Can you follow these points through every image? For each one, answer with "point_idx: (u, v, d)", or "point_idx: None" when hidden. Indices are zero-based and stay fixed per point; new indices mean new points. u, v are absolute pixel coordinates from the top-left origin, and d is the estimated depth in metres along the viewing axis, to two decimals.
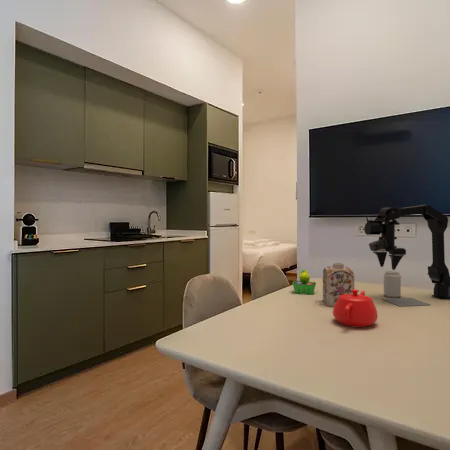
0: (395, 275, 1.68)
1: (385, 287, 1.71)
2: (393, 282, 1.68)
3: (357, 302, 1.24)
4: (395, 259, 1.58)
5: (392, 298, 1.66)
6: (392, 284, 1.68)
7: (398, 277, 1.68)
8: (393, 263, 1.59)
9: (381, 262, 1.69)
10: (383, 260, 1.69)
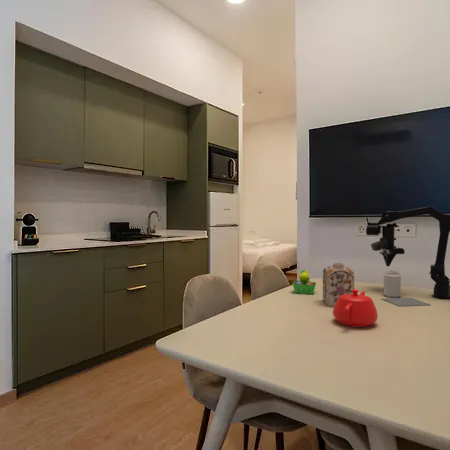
0: (395, 275, 1.68)
1: (385, 287, 1.71)
2: (393, 282, 1.68)
3: (357, 302, 1.24)
4: (389, 257, 1.80)
5: (392, 298, 1.66)
6: (392, 284, 1.68)
7: (398, 277, 1.68)
8: (388, 260, 1.80)
9: None
10: None
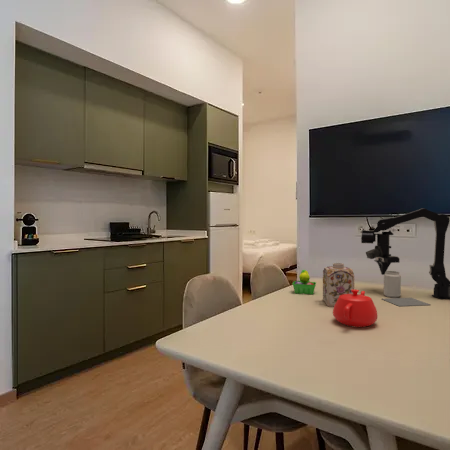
0: (395, 275, 1.68)
1: (385, 287, 1.71)
2: (393, 282, 1.68)
3: (357, 302, 1.24)
4: (384, 265, 1.78)
5: (392, 298, 1.66)
6: (392, 284, 1.68)
7: (398, 277, 1.68)
8: (383, 269, 1.78)
9: None
10: None
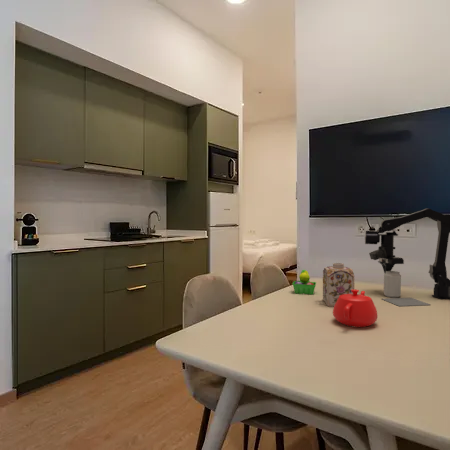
0: (395, 275, 1.68)
1: (385, 287, 1.70)
2: (393, 282, 1.68)
3: (357, 302, 1.24)
4: (388, 266, 1.74)
5: (392, 298, 1.66)
6: (392, 284, 1.68)
7: (398, 277, 1.68)
8: (386, 270, 1.75)
9: None
10: None
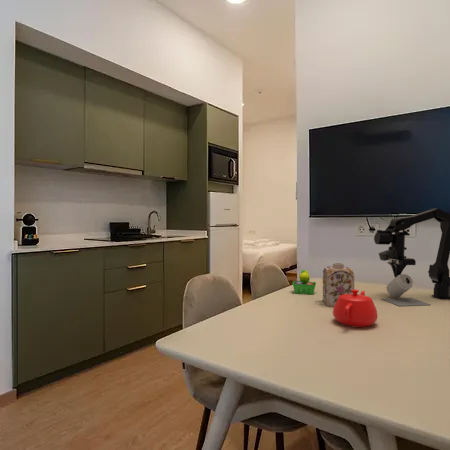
0: (407, 288, 1.59)
1: (391, 288, 1.65)
2: (401, 291, 1.62)
3: (357, 302, 1.24)
4: (399, 268, 1.65)
5: (392, 298, 1.66)
6: (399, 292, 1.63)
7: (408, 289, 1.60)
8: (397, 272, 1.66)
9: None
10: None
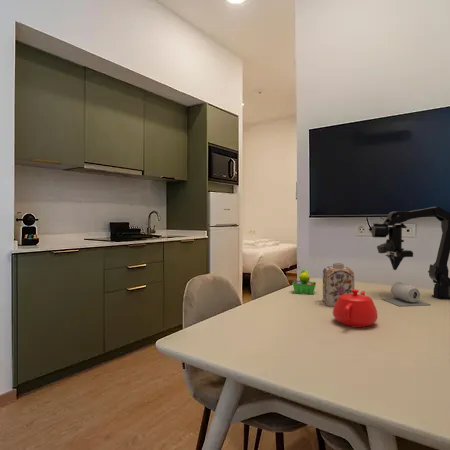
0: (410, 302, 1.57)
1: (395, 292, 1.63)
2: None
3: (357, 302, 1.24)
4: (396, 260, 1.69)
5: (392, 298, 1.66)
6: (401, 299, 1.61)
7: None
8: (395, 264, 1.69)
9: None
10: None
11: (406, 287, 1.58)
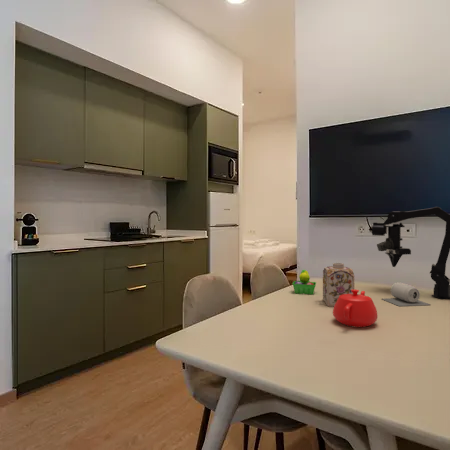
0: (410, 302, 1.57)
1: (395, 292, 1.63)
2: (403, 300, 1.60)
3: (357, 302, 1.24)
4: (395, 257, 1.78)
5: (392, 298, 1.66)
6: (401, 299, 1.61)
7: None
8: (394, 261, 1.78)
9: None
10: None
11: (406, 287, 1.58)
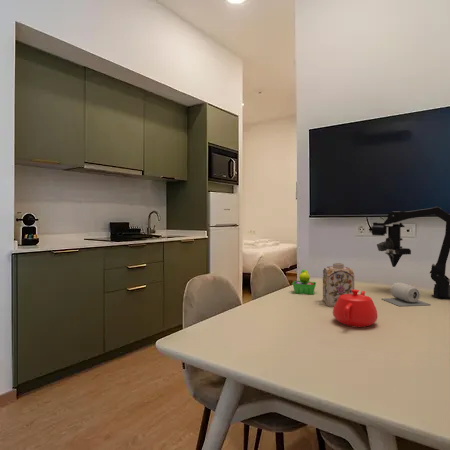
0: (410, 302, 1.57)
1: (395, 292, 1.63)
2: (403, 300, 1.60)
3: (357, 302, 1.24)
4: (395, 257, 1.78)
5: (392, 298, 1.66)
6: (401, 299, 1.61)
7: None
8: (394, 261, 1.78)
9: None
10: None
11: (406, 287, 1.58)
